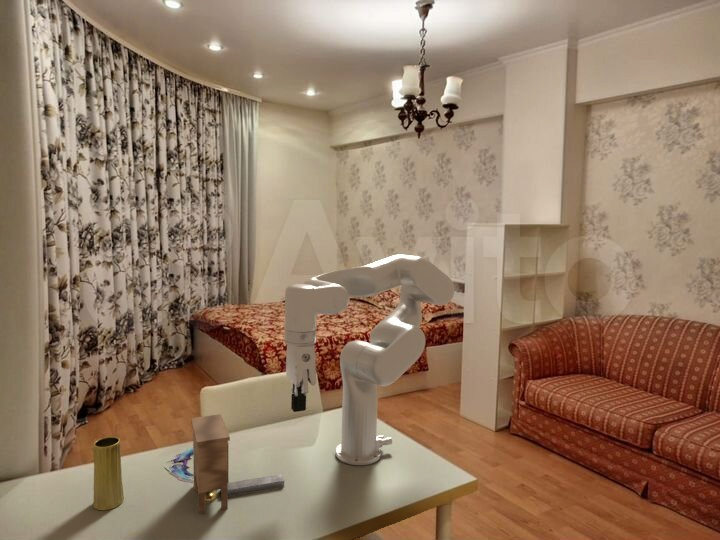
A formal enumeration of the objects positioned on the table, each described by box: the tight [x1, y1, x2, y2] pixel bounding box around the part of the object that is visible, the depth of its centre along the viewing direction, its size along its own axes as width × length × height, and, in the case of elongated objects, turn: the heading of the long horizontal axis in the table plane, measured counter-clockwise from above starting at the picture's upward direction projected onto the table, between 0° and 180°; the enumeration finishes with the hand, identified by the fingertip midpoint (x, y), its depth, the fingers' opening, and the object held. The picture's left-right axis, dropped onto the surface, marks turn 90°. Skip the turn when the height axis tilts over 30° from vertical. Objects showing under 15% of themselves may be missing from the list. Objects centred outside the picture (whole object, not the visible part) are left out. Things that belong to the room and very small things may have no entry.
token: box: [205, 490, 218, 504], centre depth 111 cm, size 4×4×1 cm
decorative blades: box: [168, 446, 194, 484], centre depth 126 cm, size 20×1×10 cm
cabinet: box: [190, 413, 231, 516], centre depth 110 cm, size 7×13×17 cm, turn 24°
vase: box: [92, 436, 125, 511], centre depth 107 cm, size 6×6×14 cm
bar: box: [219, 473, 285, 497], centre depth 115 cm, size 14×3×2 cm, turn 110°
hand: (298, 409), depth 117 cm, fingers closed
